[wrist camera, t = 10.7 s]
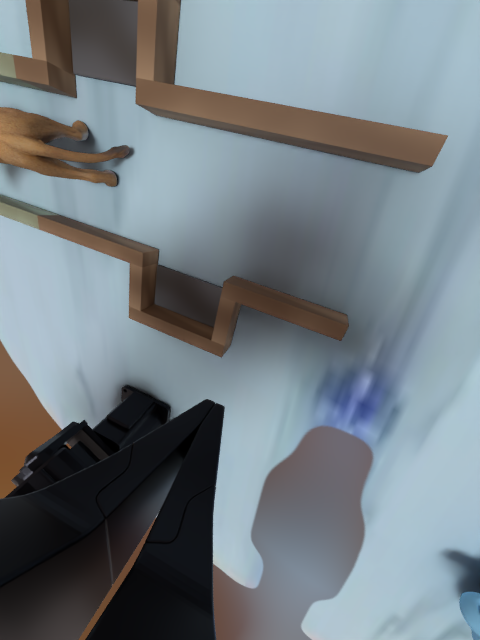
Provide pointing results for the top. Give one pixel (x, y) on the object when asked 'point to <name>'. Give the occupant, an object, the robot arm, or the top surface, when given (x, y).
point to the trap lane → (194, 107)
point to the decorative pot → (471, 611)
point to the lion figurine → (50, 147)
